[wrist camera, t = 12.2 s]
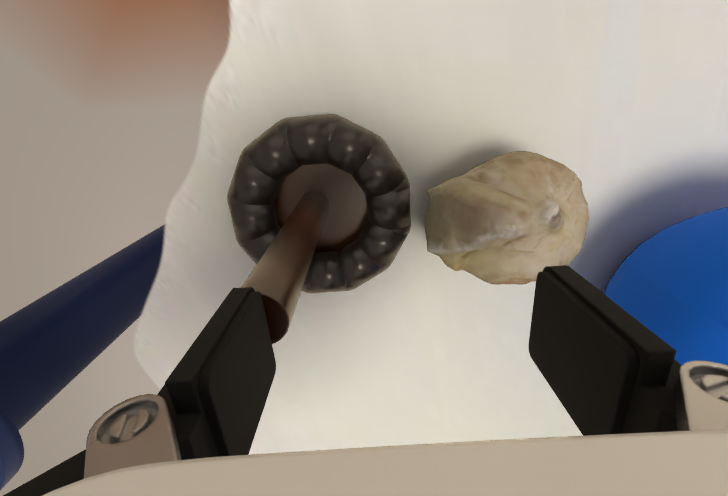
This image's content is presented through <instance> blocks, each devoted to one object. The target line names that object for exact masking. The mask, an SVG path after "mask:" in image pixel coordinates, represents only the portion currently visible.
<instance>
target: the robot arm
mask: <svg viewBox="0 0 728 496" xmlns="http://www.w3.org/2000/svg"><path fill="white" fill-rule="evenodd" d="M529 353H530V356H531V358H532V359H533V361H534V362H535V364H536V365H537V367H538V368H539V370H540V371H541V373H542V374H543V376H544V377H545V379H546V380H547V382H548V383H549V385H550V386H551V388H552V389H553V391H554V392H555V394H556V395H557V397H558V398H559V400H560V401H561V403H562V404H563V406H564V407H565V409H566V410H567V412H568V413H569V415H570V416H571V418H572V419H573V421H574V422H575V424H576V425H577V427H578V428H579V430H580V431H581V433H582V434H583V436H568V437H548V438H528V439H508V440H490V441H471V442H453V443H435V444H417V445H400V446H382V447H365V448H349V449H333V450H317V451H301V452H285V453H268V454H253V455H248V454H249V451H250V448H251V445H252V442H253V439H254V436H255V433H256V430H257V427H258V424H259V421H260V418H261V415H262V412H263V409H264V406H265V403H266V400H267V396H268V393H269V390H270V387H271V384H272V381H273V378H274V375H275V371H276V362H275V357H274V352H273V348H272V343H271V338H270V334H269V329H268V324H267V320H266V315H265V310H264V305H263V301H262V296H261V293H260V292H259V291H255V290H254V288H253V287H246V288H233V289H232V290H231V292H230V293H229V294H228V296H227V297H226V298H225V300H224V301H223V303H222V304H221V305H220V307H219V308H218V310H217V311H216V312H215V314H214V315H213V317H212V318H211V319H210V321H209V322H208V323H207V325H206V326H205V328H204V329H203V330H202V332H201V333H200V335H199V336H198V337H197V339H196V340H195V341H194V343H193V344H192V346H191V347H190V348H189V350H188V351H187V353H186V354H185V355H184V357H183V358H182V360H181V361H180V362H179V364H178V365H177V366H176V368H175V369H174V371H173V372H172V373H171V375H170V376H169V378H168V379H167V380H166V382H165V385H164V386H163V388H162V389H161V390H160V392H159V393H158V395H153V394H146V395H140V396H136V397H133V398H130V399H127V400H125V401H123V402H121V403H120V404H117V405H116V406H114V407H113V408H111V409H110V410H108V411H107V412H105V413H104V414H103V415H102V416H101V417H100V418H99V419H98V420H97V421H96V422H95V423H94V425H93V426H92V428H91V429H90V430H89V434H88V437H87V444H86V450H84V451H82V452H80V453H78V454H77V455H75V456H73V457H71V458H70V459H68V460H66V461H64V462H62V463H61V464H59V465H57V466H55V467H54V468H52V469H50V470H48V471H46V472H45V473H43V474H41V475H39V476H37V477H36V478H34V479H32V480H31V481H29V482H27V483H25V484H23V485H21V486H20V487H18V488H16V489H14V490H13V491H11V492H9V493H7V494H5V495H4V496H728V366H727V365H724V364H721V363H715V362H710V361H691V362H686V363H685V364H683V365H681V364H680V363H678V362H677V361H676V360H675V359H674V357H675V354H676V350H675V349H674V348H672V347H671V346H670V345H669V344H667V343H666V342H665V341H663V340H662V339H661V338H660V337H658V336H657V335H656V334H654V333H653V332H652V331H651V330H649V329H648V328H647V327H645V326H644V325H643V324H642V323H640V322H639V321H638V320H637V319H635V318H634V317H633V316H631V315H630V314H629V313H628V312H626V311H625V310H624V309H622V308H621V307H620V306H619V305H617V304H616V303H615V302H613V301H612V300H611V299H610V298H608V297H607V296H606V295H605V294H603V293H602V292H601V291H599V290H598V289H597V288H596V287H594V286H593V285H592V284H590V283H589V282H588V281H587V280H585V279H584V278H583V277H582V276H580V275H579V274H578V273H576V272H575V271H574V270H573V269H571V268H570V267H569V266H567V265H562V266H547V267H545V268H544V269H543V271H542V272H539V273H538V274H537V279H536V288H535V296H534V305H533V313H532V322H531V330H530V338H529Z"/></svg>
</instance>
